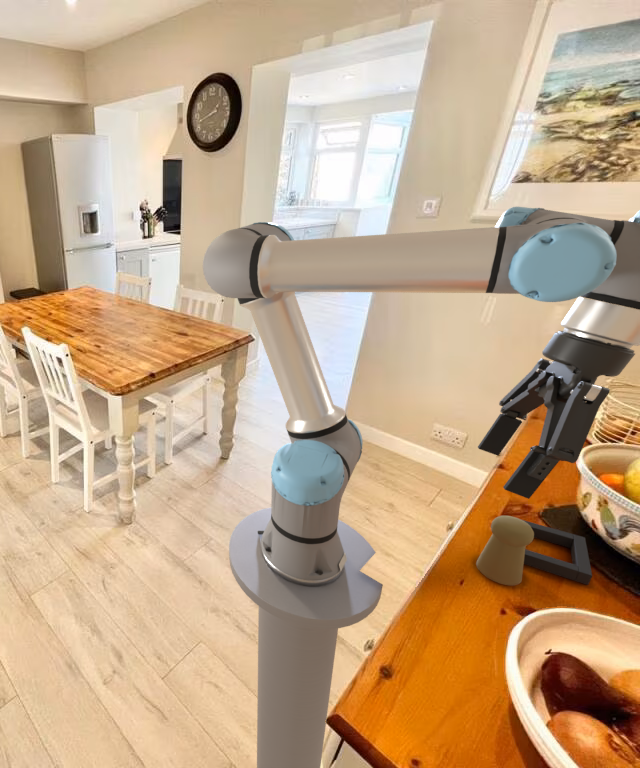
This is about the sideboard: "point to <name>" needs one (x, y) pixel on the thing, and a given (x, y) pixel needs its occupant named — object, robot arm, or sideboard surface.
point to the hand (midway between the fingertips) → (500, 470)
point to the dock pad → (573, 571)
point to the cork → (505, 550)
